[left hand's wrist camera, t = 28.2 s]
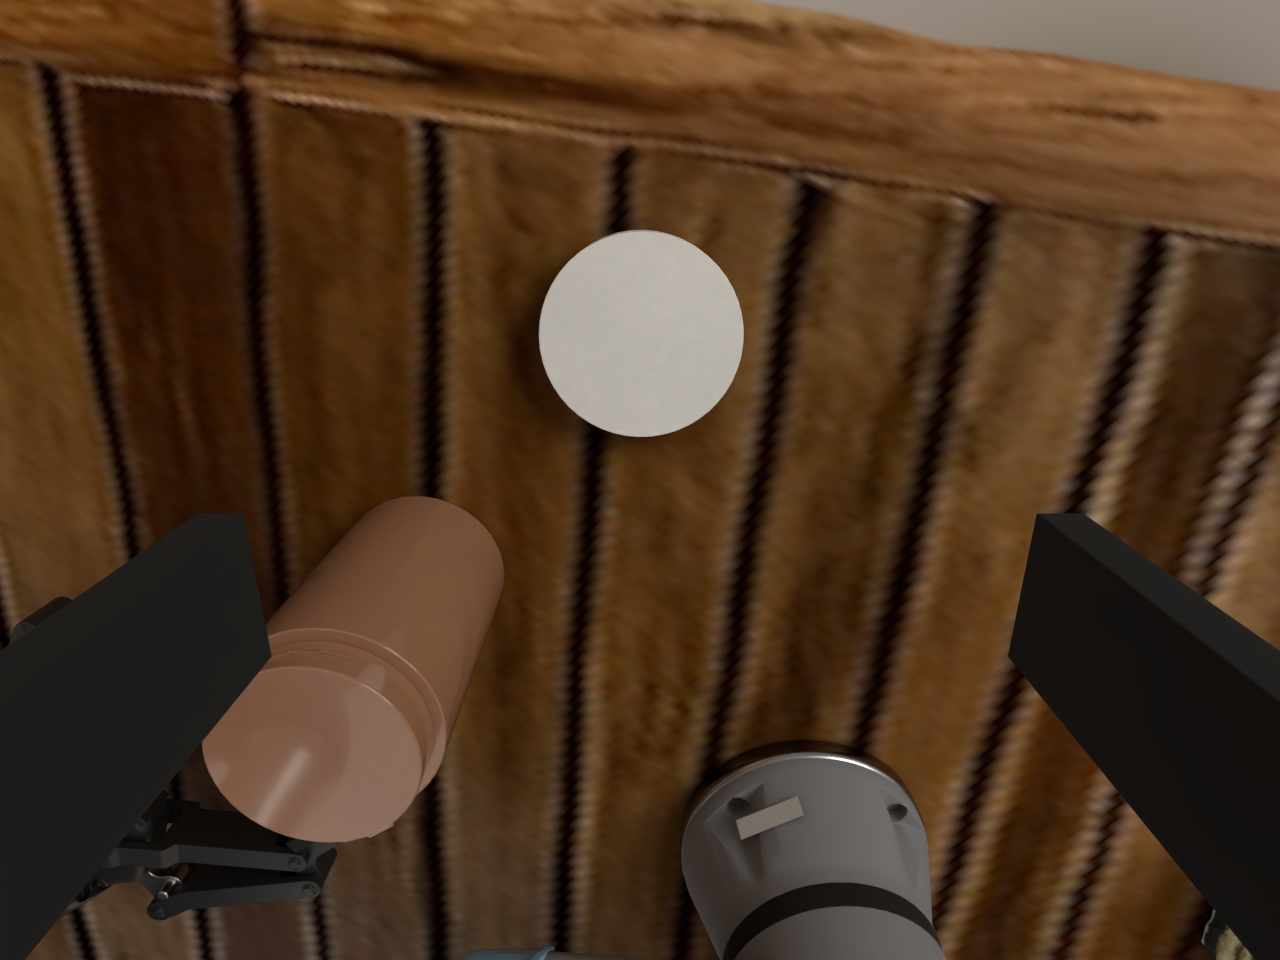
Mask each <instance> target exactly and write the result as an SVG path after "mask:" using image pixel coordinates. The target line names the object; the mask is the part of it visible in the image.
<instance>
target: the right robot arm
mask: <svg viewBox="0 0 1280 960" xmlns="http://www.w3.org/2000/svg"><path fill="white" fill-rule="evenodd" d="M71 601H72V600H71V599H69V598H67V597H57V598H55V599H54V600H52V601H51V602H49V603H48V604H46V605H45V606H43V607H42V608H40V609H39V610H37V611H36V612H35V613H33V614H32V615H30V616H29V617H27V618H26V619H24V620H23V621H21V622H20V623H18V624H17V625H16V626H15V628H14V630H13V633H12V637H11V640H10V643H9V645H10V644H11V643H12V642H14V641H15V640H17V639H18V638H20V637H21V636H22V635H24V634H25V633H27V632H28V631H30V630H31V629H32V628H34V627H35V626H37V625H38V624H40V623H41V622H43V621H44V620H45V619H47V618H48V617H50V616H51V615H53V614H54V613H55V612H57V611H58V610H60V609H61V608H63V607H64V606H65V605H67V604H68V603H70V602H71ZM168 795H169V794H168V793H167V792H166V791H164V790H163V791H162V792H161V793H160V794H159V795H158V797H157V798H156V799H155V800H154V802H153V803H152V804H151V805H150V807H149V808H148V809H147V810H146V811H145V813H144V814H143V815H142V816H141V818H140V819H139V820H138V821H137V823H136V824H135V825H134V826H133V827H132V829H131V830H130V831H129V832H128V834H127V835H126V836H125V837H124V838H123V840H122V841H121V842H120V843H119V845H118V846H117V847H116V848H115V850H114V851H113V852H112V853H111V854H110V856H109V857H108V858H107V859H106V861H105V862H104V863H103V864H102V866H101V867H100V868H99V869H98V870H97V872H96V873H95V874H94V875H93V877H92V878H91V879H90V880H89V881H88V883H87V884H86V885H85V886H84V888H83V889H82V890H81V891H80V893H79V894H78V895H77V896H76V897H75V899H74V900H73V901H72V902H71V904H70V905H69V906H68V907H67V908H66V910H65V911H64V912H63V913H62V915H61V916H60V917H59V918H58V919H60V918H61V917H63V916H65V915H66V914H68V913H70V912H71V911H73V910H75V909H76V908H78V907H80V906H81V905H83V904H85V903H87V902H88V901H90V900H92V899H93V898H95V897H96V896H98V895H99V894H101V893H102V892H103V891H105V890H106V889H108V888H109V887H110V886H112V885H114V884H117V883H124V882H133V881H136V880H137V881H138V882H139V883H140V884H141V885H142V886H143V887H144V888H145V889H146V890H147V891H148V892H149V893H150V894H151V895H152V896H153V897H154V899H153V900H152V902H151V903H150V905H149V906H148V908H147V914H148V915H149V916H150V917H151V918H152V919H155V920H165V919H168V918H170V917H172V916H175V915H177V914H179V913H182V912H184V911H186V910H189V909H198V908H209V907H219V906H230V905H240V904H251V903H261V902H272V901H282V900H293V899H304V898H313V897H316V896H317V895H319V893H320V891H321V888H322V886H323V884H324V882H325V880H326V878H327V876H328V874H329V871H330V869H331V867H332V865H333V863H334V860H335V858H336V856H337V851H336V850H335V849H334V848H333V847H335V846H337V845H338V844H340V843H342V842H330V843H328V842H312V841H306V840H300V839H296V838H292V837H288V836H285V835H282V834H279V833H276V832H274V831H272V830H269V829H267V828H265V827H263V826H261V825H259V824H258V823H256V822H254V821H252V820H251V819H249V818H248V817H247V816H245V815H244V814H242V813H239V812H227V811H216V810H205V809H201V808H200V804H199V803H198V802H195V801H185V800H174V799H166V798H167V797H168ZM167 823H173V824H172V826H171V827H170V828H169V830H168V831H167V832H166V828H167ZM165 833H166V834H165ZM177 862H180V863H177Z"/></svg>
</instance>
